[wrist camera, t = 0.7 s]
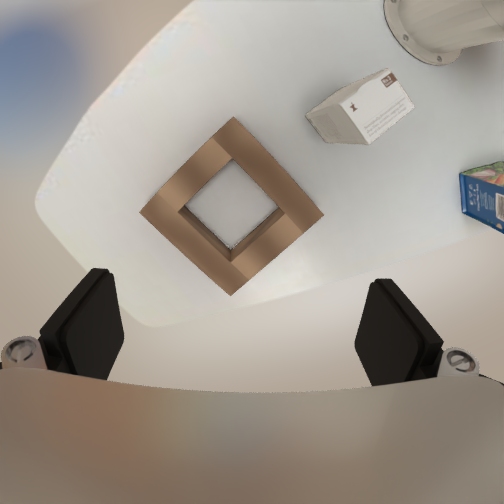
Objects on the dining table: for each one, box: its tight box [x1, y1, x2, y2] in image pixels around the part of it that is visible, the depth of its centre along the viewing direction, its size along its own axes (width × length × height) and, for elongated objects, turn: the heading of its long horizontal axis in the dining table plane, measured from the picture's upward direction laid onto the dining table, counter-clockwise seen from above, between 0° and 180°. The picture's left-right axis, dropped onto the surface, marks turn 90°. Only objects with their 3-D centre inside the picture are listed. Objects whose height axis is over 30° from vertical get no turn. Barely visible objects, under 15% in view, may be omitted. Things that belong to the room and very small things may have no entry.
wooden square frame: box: [139, 117, 324, 296], centre depth 34 cm, size 14×14×4 cm
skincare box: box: [305, 68, 415, 145], centre depth 26 cm, size 6×4×12 cm
